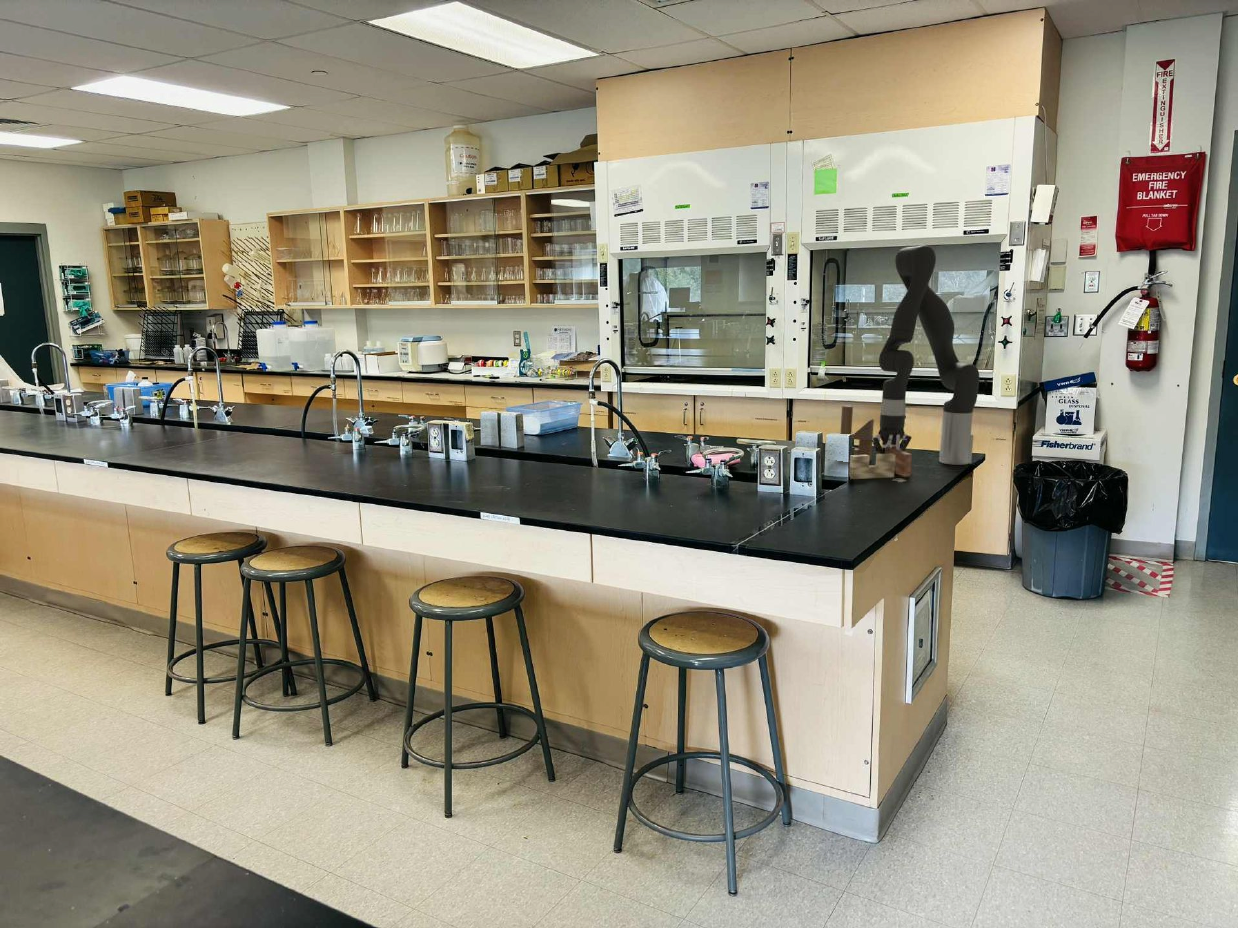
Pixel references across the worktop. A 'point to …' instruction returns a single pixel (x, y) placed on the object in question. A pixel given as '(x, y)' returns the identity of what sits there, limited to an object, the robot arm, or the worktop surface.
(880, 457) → the maple plate
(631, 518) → the worktop surface
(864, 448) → the wooden block
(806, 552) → the worktop surface
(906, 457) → the cherry plate
